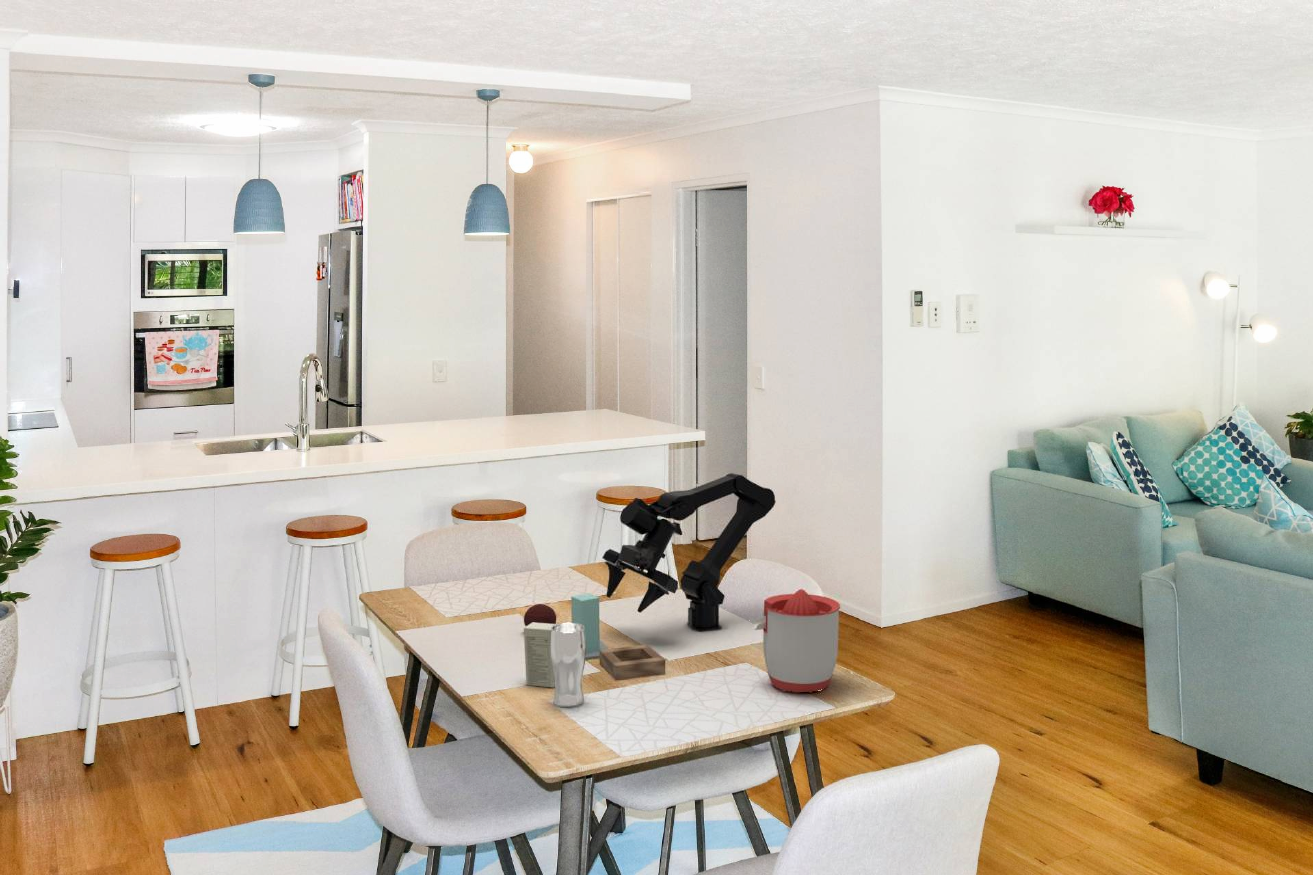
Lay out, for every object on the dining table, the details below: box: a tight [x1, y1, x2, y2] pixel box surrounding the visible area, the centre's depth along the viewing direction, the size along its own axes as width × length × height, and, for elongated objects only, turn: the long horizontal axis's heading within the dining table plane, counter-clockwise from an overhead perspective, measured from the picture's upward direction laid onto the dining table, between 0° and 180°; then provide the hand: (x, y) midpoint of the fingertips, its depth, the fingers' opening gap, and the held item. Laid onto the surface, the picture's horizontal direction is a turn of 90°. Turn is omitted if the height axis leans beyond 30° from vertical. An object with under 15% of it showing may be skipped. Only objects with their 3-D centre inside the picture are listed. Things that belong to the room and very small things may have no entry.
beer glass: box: [550, 622, 586, 708], centre depth 215 cm, size 7×7×15 cm
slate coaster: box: [585, 639, 610, 661], centre depth 246 cm, size 10×10×1 cm
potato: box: [523, 603, 557, 627], centre depth 260 cm, size 7×8×7 cm
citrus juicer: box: [753, 588, 841, 693], centre depth 224 cm, size 16×17×20 cm
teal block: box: [570, 593, 601, 653], centre depth 245 cm, size 4×4×12 cm
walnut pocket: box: [599, 644, 666, 681], centre depth 235 cm, size 11×11×3 cm
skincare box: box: [523, 622, 557, 688], centre depth 226 cm, size 6×4×12 cm
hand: (623, 604), depth 251 cm, fingers open, 9 cm apart
